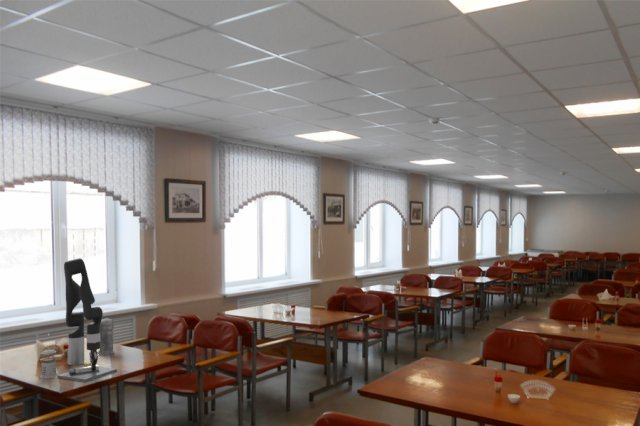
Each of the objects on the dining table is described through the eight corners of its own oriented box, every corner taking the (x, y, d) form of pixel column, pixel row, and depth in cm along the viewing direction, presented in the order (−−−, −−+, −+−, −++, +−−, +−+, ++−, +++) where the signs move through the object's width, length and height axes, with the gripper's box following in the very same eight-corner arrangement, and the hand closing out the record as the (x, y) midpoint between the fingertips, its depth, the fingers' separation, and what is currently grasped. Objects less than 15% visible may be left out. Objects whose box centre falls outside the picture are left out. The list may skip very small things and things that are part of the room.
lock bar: (69, 374, 293) (69, 370, 293) (68, 373, 297) (68, 368, 297) (99, 370, 301) (99, 366, 301) (98, 368, 305) (98, 364, 305)
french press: (40, 379, 293) (40, 335, 294) (38, 374, 302) (37, 332, 303) (59, 375, 299) (59, 333, 299) (56, 371, 308) (56, 330, 309)
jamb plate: (57, 377, 294) (57, 370, 294) (90, 367, 315) (89, 360, 315) (85, 381, 285) (85, 373, 285) (117, 371, 306) (116, 363, 306)
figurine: (110, 350, 361) (109, 315, 362) (115, 354, 349) (115, 318, 350) (95, 353, 355) (95, 317, 356) (100, 356, 344) (100, 319, 344)
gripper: (84, 340, 303) (84, 369, 302) (88, 343, 292) (89, 373, 291) (97, 338, 307) (98, 367, 306) (102, 341, 296) (102, 371, 295)
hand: (93, 370), depth 299 cm, fingers closed
